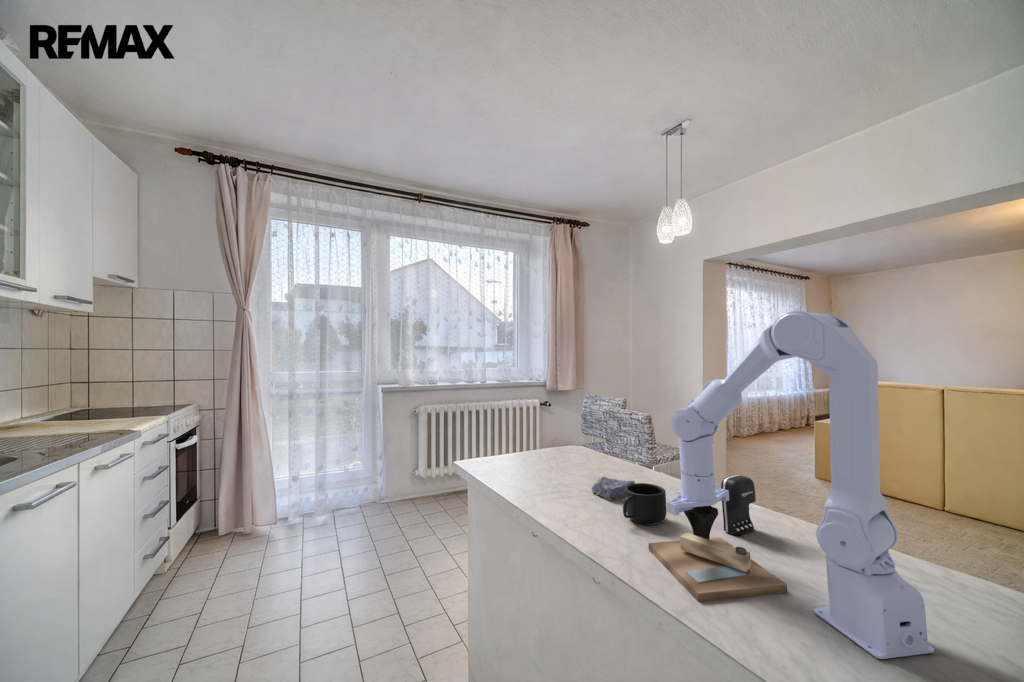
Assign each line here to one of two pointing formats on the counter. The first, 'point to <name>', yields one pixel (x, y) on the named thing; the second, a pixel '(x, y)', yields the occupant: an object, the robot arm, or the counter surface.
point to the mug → (645, 503)
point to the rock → (610, 487)
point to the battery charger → (738, 504)
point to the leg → (716, 551)
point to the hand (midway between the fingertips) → (701, 545)
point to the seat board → (715, 574)
